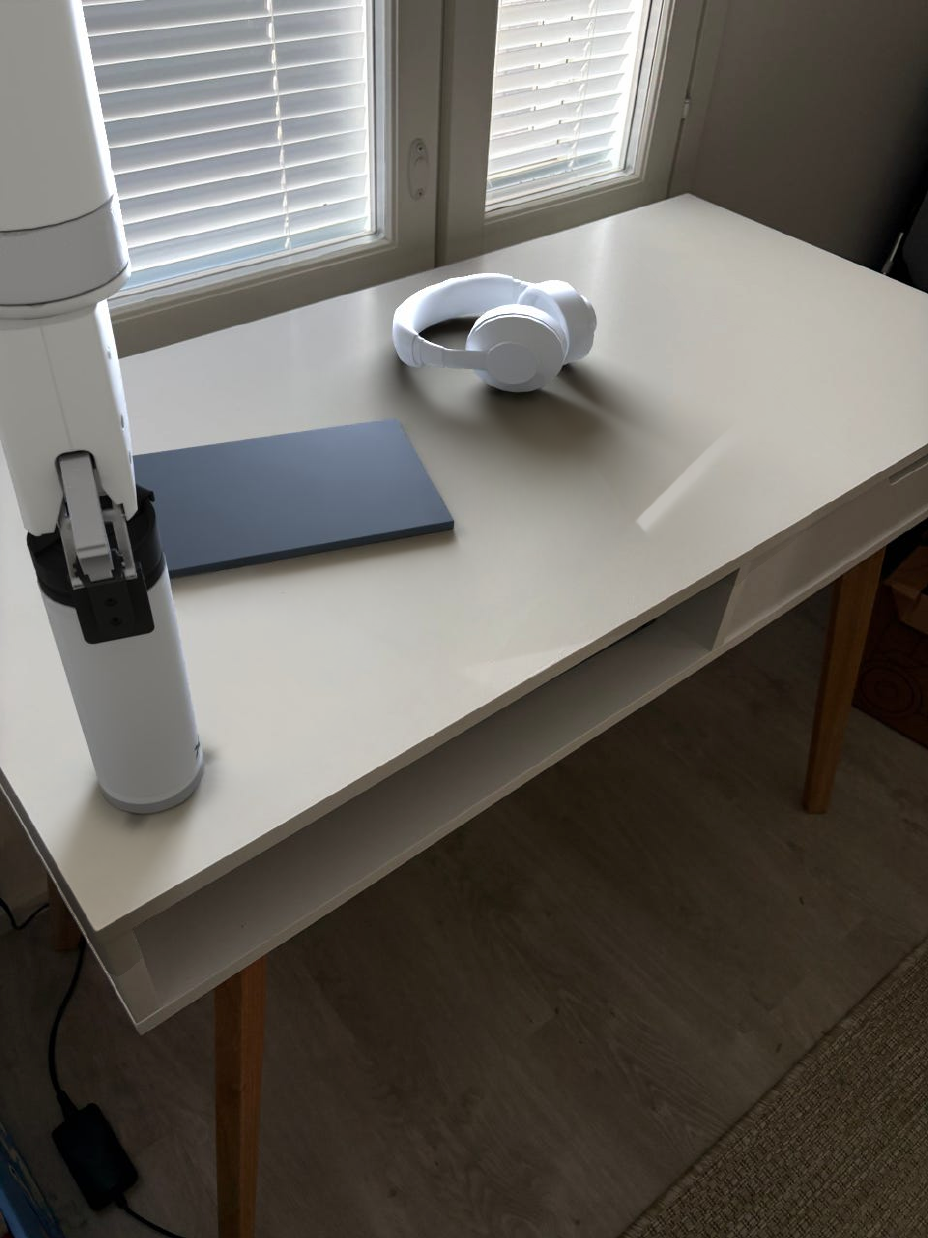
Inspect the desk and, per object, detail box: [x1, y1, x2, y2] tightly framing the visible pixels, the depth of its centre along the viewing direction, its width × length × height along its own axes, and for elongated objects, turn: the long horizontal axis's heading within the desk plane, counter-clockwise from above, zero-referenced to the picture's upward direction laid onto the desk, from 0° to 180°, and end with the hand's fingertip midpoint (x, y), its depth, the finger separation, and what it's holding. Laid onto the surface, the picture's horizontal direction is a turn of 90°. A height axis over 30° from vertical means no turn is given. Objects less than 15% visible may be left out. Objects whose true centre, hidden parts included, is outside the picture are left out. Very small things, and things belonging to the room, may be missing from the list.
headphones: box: [392, 272, 598, 393], centre depth 101 cm, size 18×8×20 cm
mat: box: [132, 417, 455, 580], centre depth 83 cm, size 28×16×1 cm, turn 110°
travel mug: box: [26, 483, 205, 815], centre depth 56 cm, size 6×7×20 cm
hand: (110, 571), depth 51 cm, fingers open, 9 cm apart
